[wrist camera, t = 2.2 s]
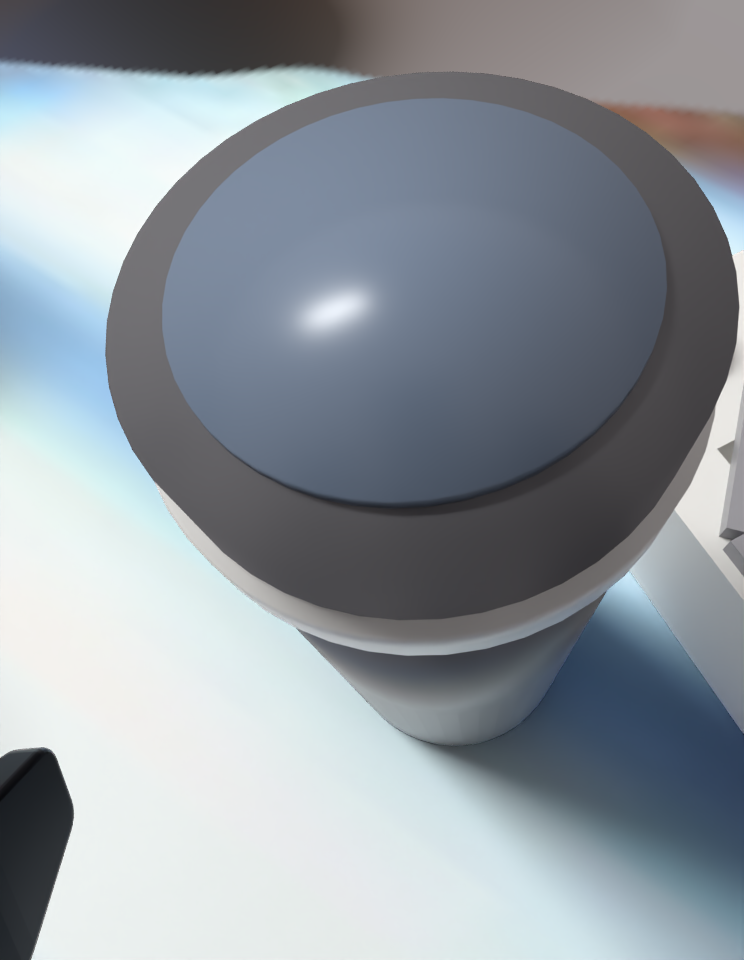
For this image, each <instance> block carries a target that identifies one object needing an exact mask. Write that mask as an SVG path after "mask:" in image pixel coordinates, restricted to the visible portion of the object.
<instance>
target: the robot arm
mask: <svg viewBox="0 0 744 960" xmlns="http://www.w3.org/2000/svg"><path fill="white" fill-rule="evenodd" d="M73 819H74V809H73V803H72V800H71V797H70V794H69V791H68V789H67V786H66V783H65V780H64V777H63V775H62V772H61V769H60V766H59V764H58V761H57V758H56V756H55V754H54V753H53V752H52V751H51V750H50V749H48V748H44V747H40V748H29V749H18V750H13V751H11V752H8V753H7V754H5V755H4V756H2V757H1V758H0V960H31V958H32V955H33V952H34V949H35V946H36V943H37V940H38V936H39V933H40V930H41V927H42V924H43V920H44V917H45V914H46V911H47V907H48V904H49V901H50V898H51V894H52V891H53V888H54V885H55V881H56V878H57V875H58V872H59V869H60V865H61V862H62V859H63V856H64V852H65V849H66V846H67V843H68V839H69V836H70V833H71V830H72V825H73Z"/></svg>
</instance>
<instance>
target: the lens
mask: <svg viewBox="0 0 744 960" xmlns="http://www.w3.org/2000/svg"><path fill="white" fill-rule="evenodd" d="M739 308H740V306H739V295H738V284H737V273H736V268H735V265H734V261H733V257H732V254H731V250H730V246H729V242H728V239H727V236H726V234H725V232H724V230H723V228H722V225H721V223H720V221H719V219H718V217H717V215H716V212H715V210H714V208H713V206H712V205H711V203H710V202H709V200H708V199H707V197H706V196H705V194H704V193H703V191H702V190H701V188H700V187H699V185H698V184H697V182H696V181H695V179H694V178H693V177H692V176H691V175H690V174H689V173H688V172H687V170H686V169H685V168H684V167H683V166H682V165H681V164H680V163H679V162H678V160H677V159H676V158H675V157H674V156H673V155H672V154H671V153H670V152H669V151H667V150H666V149H665V148H664V147H663V146H661V145H660V144H659V143H658V142H657V141H656V140H654V139H653V138H652V137H651V136H650V135H648V134H647V133H646V132H644V131H643V130H641V129H640V128H638V127H637V126H635V125H634V124H632V123H631V122H629V121H628V120H626V119H624V118H623V117H621V116H620V115H618V114H616V113H614V112H612V111H610V110H608V109H606V108H604V107H602V106H600V105H598V104H596V103H594V102H592V101H590V100H588V99H586V98H583V97H580V96H577V95H575V94H572V93H569V92H566V91H564V90H561V89H558V88H555V87H552V86H548V85H544V84H540V83H535V82H532V81H528V80H524V79H519V78H512V77H506V76H499V75H493V74H484V73H467V72H425V73H412V74H403V75H395V76H387V77H380V78H376V79H371V80H366V81H361V82H356V83H351V84H348V85H344V86H341V87H338V88H334V89H331V90H328V91H324V92H321V93H318V94H315V95H312V96H310V97H307V98H305V99H302V100H300V101H297V102H295V103H292V104H290V105H287V106H285V107H283V108H281V109H279V110H277V111H275V112H273V113H271V114H269V115H267V116H265V117H263V118H261V119H259V120H257V121H255V122H254V123H252V124H250V125H249V126H247V127H246V128H244V129H242V130H241V131H239V132H238V133H236V134H234V135H233V136H231V137H230V138H228V139H227V140H225V141H224V142H223V143H221V144H220V145H219V146H217V147H216V148H215V149H214V150H212V151H211V152H210V153H208V154H207V155H206V156H204V157H203V158H202V159H201V160H199V161H198V162H197V163H196V164H195V165H194V166H193V167H192V168H191V169H190V170H189V171H188V172H187V173H186V174H185V175H184V176H183V177H181V178H180V179H179V180H178V181H177V182H176V183H175V185H174V186H173V187H172V188H171V189H170V190H169V192H168V193H167V194H166V195H165V196H164V198H163V199H162V200H161V201H160V202H159V203H158V205H157V206H156V207H155V208H154V210H153V211H152V213H151V214H150V216H149V217H148V219H147V220H146V222H145V223H144V225H143V226H142V228H141V229H140V231H139V232H138V234H137V236H136V238H135V240H134V242H133V244H132V246H131V248H130V250H129V252H128V254H127V256H126V258H125V260H124V262H123V264H122V267H121V270H120V273H119V276H118V279H117V282H116V284H115V287H114V290H113V294H112V299H111V304H110V309H109V314H108V319H107V330H106V352H105V356H106V365H107V374H108V382H109V389H110V392H111V396H112V399H113V403H114V406H115V410H116V414H117V417H118V420H119V422H120V424H121V426H122V429H123V431H124V433H125V435H126V437H127V439H128V441H129V443H130V446H131V448H132V450H133V452H134V453H135V454H136V456H137V457H138V459H139V460H140V462H141V463H142V465H143V466H144V467H145V469H146V470H147V472H148V473H149V475H150V476H151V478H152V479H153V480H154V482H155V484H156V486H157V488H158V491H159V493H160V495H161V497H162V499H163V501H164V503H165V505H166V507H167V509H168V511H169V513H170V514H171V515H172V517H173V518H174V520H175V521H176V523H177V524H178V526H179V527H180V529H181V530H182V531H183V533H184V534H185V536H186V537H187V539H188V540H189V541H190V542H191V543H192V544H193V545H194V546H195V547H196V548H197V549H198V550H199V551H200V553H201V554H202V555H203V556H204V557H205V558H206V559H207V560H208V561H209V562H210V563H211V564H212V565H213V566H214V567H215V568H216V569H217V570H218V571H219V572H220V573H221V574H222V575H223V576H224V577H226V578H227V579H228V580H229V581H230V582H231V583H232V584H233V585H234V586H235V587H236V588H237V589H238V590H240V591H241V592H242V593H243V594H245V595H246V596H247V597H249V598H250V599H251V600H252V601H254V602H255V603H256V604H257V605H259V606H260V607H261V608H263V609H264V610H265V611H267V612H269V613H270V614H272V615H274V616H276V617H277V618H279V619H281V620H283V621H284V622H286V623H288V624H290V625H291V626H293V627H295V628H296V629H297V630H298V631H299V632H300V633H301V634H302V635H303V636H304V637H305V638H306V639H307V640H308V641H309V642H310V643H311V644H312V645H313V646H314V647H315V648H316V649H317V650H318V651H319V652H320V653H321V655H322V656H323V657H324V658H325V659H326V660H327V661H328V662H329V663H330V664H331V665H332V666H333V667H334V668H335V669H336V670H337V671H338V672H339V673H340V674H341V675H342V676H343V677H344V678H345V679H346V680H347V681H348V682H349V683H350V685H351V686H352V687H353V688H354V689H355V690H356V691H357V692H358V693H359V694H360V695H361V696H362V697H363V698H364V699H365V700H366V701H367V702H368V703H369V704H370V705H371V706H372V707H373V708H374V709H375V710H376V711H377V712H378V713H379V715H380V716H381V717H382V718H384V719H385V720H386V721H387V722H389V723H390V724H391V725H392V726H394V727H395V728H397V729H399V730H400V731H402V732H404V733H405V734H407V735H410V736H412V737H414V738H417V739H419V740H422V741H426V742H430V743H433V744H440V745H448V746H463V745H470V744H477V743H481V742H484V741H488V740H491V739H494V738H496V737H498V736H500V735H502V734H505V733H506V732H508V731H510V730H511V729H513V728H514V727H516V726H517V725H519V724H520V723H521V722H522V721H523V720H525V719H526V718H527V717H528V716H529V715H530V714H531V713H532V712H533V711H534V709H535V708H536V707H537V706H538V705H539V703H540V702H541V700H542V699H543V697H544V696H545V694H546V693H547V691H548V689H549V687H550V686H551V684H552V682H553V681H554V679H555V677H556V676H557V674H558V672H559V671H560V669H561V667H562V666H563V664H564V662H565V661H566V659H567V657H568V655H569V654H570V652H571V650H572V649H573V647H574V645H575V644H576V642H577V640H578V639H579V637H580V635H581V634H582V632H583V630H584V629H585V627H586V625H587V624H588V622H589V620H590V618H591V617H592V615H593V613H594V612H595V610H596V608H597V607H598V605H599V603H600V602H601V600H602V598H603V597H604V595H605V593H606V592H607V590H608V589H609V588H610V587H612V586H613V585H614V584H615V583H616V582H618V581H619V580H620V579H621V578H622V577H624V576H625V575H626V573H627V572H628V571H629V570H630V569H631V568H632V567H633V566H634V564H635V563H636V562H637V561H638V560H639V559H640V558H641V557H642V556H643V554H644V553H645V552H646V551H647V550H648V549H649V548H650V546H651V544H652V543H653V541H654V540H655V538H656V537H657V535H658V534H659V532H660V531H661V529H662V528H663V526H664V525H665V523H666V522H667V520H668V519H669V517H670V516H671V514H672V512H673V511H674V509H675V508H676V506H677V505H678V503H679V502H680V500H681V499H682V497H683V496H684V494H685V493H686V491H687V489H688V488H689V486H690V485H691V483H692V480H693V478H694V476H695V474H696V471H697V469H698V467H699V465H700V462H701V460H702V458H703V456H704V453H705V451H706V448H707V444H708V440H709V436H710V432H711V429H712V425H713V421H714V417H715V409H716V403H717V401H718V399H719V396H720V394H721V392H722V390H723V388H724V385H725V383H726V381H727V378H728V374H729V370H730V366H731V362H732V359H733V355H734V351H735V347H736V343H737V332H738V320H739Z"/></svg>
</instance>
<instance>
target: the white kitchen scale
mask: <svg viewBox="0 0 744 960" xmlns="http://www.w3.org/2000/svg"><path fill="white" fill-rule="evenodd" d="M732 257H733V261H734V265H735V268H736V273H737V284H738V295H739V306H740V308H739V320H738V332H737V343H736V347H735V351H734V355H733V359H732V362H731V366H730V370H729V374H728V378H727V381H726V383H725V385H724V388H723V390H722V392H721V394H720V396H719V399H718V401H717V403H716V409H715V417H714V421H713V425H712V429H711V432H710V436H709V440H708V444H707V448H706V451H705V453H704V456H703V458H702V460H701V462H700V465H699V467H698V469H697V471H696V474H695V476H694V478H693V480H692V483H691V485H690V486H689V488H688V489H687V491H686V493H685V494H684V496H683V497H682V499H681V500H680V502H679V503H678V505H677V506H676V508H675V509H674V511H673V512H672V514H671V516H670V517H669V519H668V520H667V522H666V523H665V525H664V526H663V528H662V529H661V531H660V532H659V534H658V535H657V537H656V538H655V540H654V541H653V543H652V544H651V546H650V548H649V549H648V550H647V551H646V552H645V553H644V554H643V556H642V557H641V558H640V559H639V560H638V561H637V562H636V563H635V564H634V566H633V567H632V568H631V569H630V570H629V571H630V572H631V574H632V575H633V576H634V578H635V579H636V581H637V582H638V584H639V585H640V586H641V588H642V589H643V591H644V592H645V594H646V595H647V596H648V598H649V599H650V601H651V602H652V604H653V605H654V607H655V608H656V609H657V611H658V612H659V614H660V615H661V617H662V618H663V619H664V621H665V622H666V624H667V625H668V627H669V628H670V629H671V631H672V632H673V634H674V635H675V637H676V638H677V639H678V641H679V642H680V644H681V645H682V647H683V648H684V649H685V651H686V652H687V654H688V655H689V657H690V658H691V660H692V661H693V662H694V664H695V665H696V667H697V668H698V670H699V671H700V672H701V674H702V675H703V677H704V678H705V680H706V681H707V682H708V684H709V685H710V687H711V688H712V690H713V691H714V692H715V694H716V695H717V697H718V698H719V700H720V701H721V703H722V704H723V705H724V707H725V708H726V710H727V711H728V713H729V714H730V715H731V717H732V718H733V720H734V721H735V723H736V724H737V725H738V727H739V728H740V730H741V731H742V733H743V734H744V250H742V251H740V252H738V253H736V254H734V255H732Z"/></svg>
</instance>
